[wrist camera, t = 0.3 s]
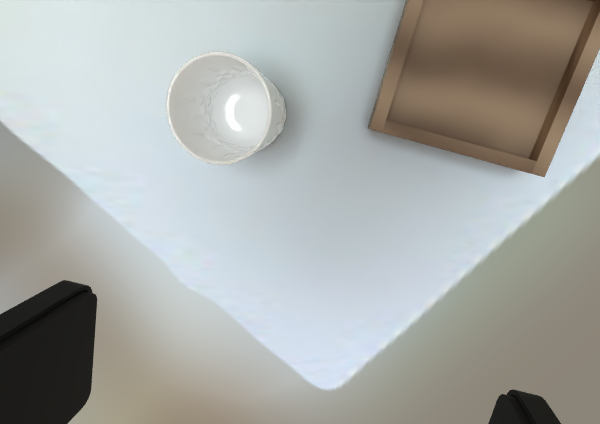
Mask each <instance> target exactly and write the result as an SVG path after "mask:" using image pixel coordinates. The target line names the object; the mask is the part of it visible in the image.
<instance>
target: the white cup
mask: <svg viewBox="0 0 600 424" xmlns="http://www.w3.org/2000/svg"><path fill="white" fill-rule="evenodd" d="M166 112H167V118H168V122H169V126H170V128H171V131H172V133H173V135H174V136H175V138H176V140H177V141H178V142H179V144H180V145H181V146H182V147H183V148H184V149H185V150H186V151H187V152H188V153H189V154H191V155H192V156H194V157H195V158H197V159H199V160H201V161H204V162H207V163H211V164H217V165H226V164H232V163H236V162H239V161H241V160H243V159H245V158H247V157H249V156H251V155H253V154H255V153H257V152H259V151H260V150H262V149H263V148H265V147H267V146H268V145H269V144H271V143H272V142H273V141H274V140H275V139H276V138H277V137H278V135H279V134H280V133H281V132H282V130H283V127H284V123H285V120H286V116H287V115H286V108H285V102H284V98H283V97H282V95H281V94H280V92H279V91H278V89H277V88H276V86H275V85H274V84H273V83H272V82H271V81H270V80H269V79H268V78H267V77H266V76H265V75H263V74H262V73H261V72H260V71H259V70H257V69H256V68H255V67H253V66H252V65H251V64H250V63H248V62H247V61H246V60H244V59H242V58H240V57H238V56H236V55H233V54H230V53H226V52H208V53H204V54H200V55H198V56H196V57H194V58H192V59H190V60H189V61H187V62H186V63H185V64H184V65H183V66H182V67H181V68H180V69H179V70H178V71H177V73H176V74H175V76H174V77H173V79H172V81H171V84H170V86H169V89H168V93H167V100H166Z"/></svg>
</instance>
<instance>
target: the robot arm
mask: <svg viewBox="0 0 600 424" xmlns="http://www.w3.org/2000/svg"><path fill="white" fill-rule="evenodd" d="M96 308H97V297H96V295H95V294H93V293H92V290H91V287H89V286H87V285H83V284H79V283H75V282H71V281H65V280H64V281H61V282H59V283H57V284H55V285H53V286H51V287H50V288H48V289H46V290H44V291H42V292H40V293H39V294H37V295H35V296H34V297H32V298H29V299H28V300H26V301H24V302H22V303H20V304H18V305H17V306H15V307H13V308H11V309H9V310H8V311H6V312H4V313H2V314H0V424H67V423H68V422H69V421H70V420H71V419H72V418H73V417H74V416H75V415H76V414H77V413H78V412H79V411H80V410H81V408H83V406H84V405H85V404H86V402H87V400H88V398H89V395H90V392H91V383H92V368H93V353H94V338H95V323H96ZM489 424H561V423H560V422H559V420H558V418H557V417H556V416H555V414H554V413H553V411H552V410H551V408H550V407H549V405H548V404H547V403H546V401H545V400H544V399H543V398H542V397H540V396H538V395H533V394H529V393H525V392H521V391H517V390H510V391H509V392H508V393H507V395H504V394H502V395H500V396H499V398H498V400H497V402H496V405H495V408H494V410H493V413H492V416H491V418H490V421H489Z"/></svg>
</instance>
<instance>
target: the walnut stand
mask: <svg viewBox="0 0 600 424" xmlns="http://www.w3.org/2000/svg"><path fill="white" fill-rule="evenodd" d="M599 49H600V0H406V3H405V6H404V9H403V13H402V16H401V19H400V23H399V26H398V29H397V33H396V36H395V39H394V42H393V46H392V49H391V52H390V56H389V59H388V62H387V66H386V69H385V72H384V75H383V79H382V82H381V85H380V89H379V92H378V95H377V99H376V102H375V105H374V108H373V112H372V115H371V118H370V122H369V125H368V129H371V130H375V131H378V132H382V133H386V134H389V135H393V136H396V137H400V138H404V139H407V140H411V141H415V142H418V143H422V144H426V145H429V146H433V147H436V148H440V149H444V150H447V151H451V152H455V153H458V154H462V155H465V156H469V157H473V158H476V159H480V160H484V161H487V162H491V163H495V164H498V165H502V166H505V167H509V168H513V169H516V170H520V171H524V172H527V173H531V174H535V175H538V176H542V177H545V175H546V172H547V170H548V168H549V165H550V163H551V161H552V158H553V156H554V154H555V151H556V149H557V147H558V144H559V142H560V140H561V137H562V135H563V133H564V130H565V128H566V126H567V123H568V121H569V119H570V116H571V114H572V112H573V109H574V107H575V105H576V102H577V100H578V98H579V95H580V93H581V91H582V88H583V86H584V84H585V81H586V79H587V77H588V74H589V72H590V70H591V67H592V65H593V63H594V60H595V58H596V56H597V53H598V51H599Z"/></svg>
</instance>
